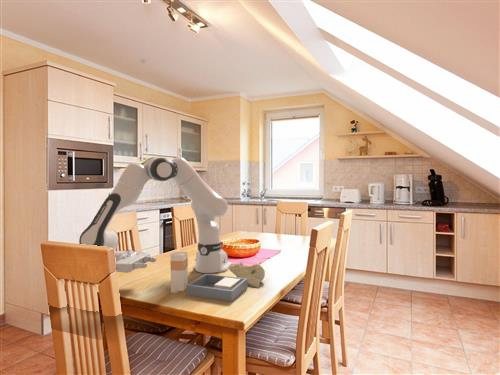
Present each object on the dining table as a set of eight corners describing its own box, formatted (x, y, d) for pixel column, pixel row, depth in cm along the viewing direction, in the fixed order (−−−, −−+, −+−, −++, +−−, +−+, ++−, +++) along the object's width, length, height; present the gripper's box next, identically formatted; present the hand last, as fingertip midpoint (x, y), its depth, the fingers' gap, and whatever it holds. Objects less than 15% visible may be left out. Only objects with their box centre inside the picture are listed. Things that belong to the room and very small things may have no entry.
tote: (206, 284, 141) (206, 273, 141) (247, 290, 134) (247, 278, 134) (186, 297, 126) (186, 285, 126) (231, 304, 119) (231, 291, 119)
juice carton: (175, 288, 137) (175, 251, 136) (187, 288, 136) (187, 251, 136) (170, 292, 131) (170, 254, 131) (183, 293, 131) (183, 255, 130)
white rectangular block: (225, 287, 134) (225, 277, 134) (240, 289, 132) (240, 279, 132) (214, 295, 125) (214, 284, 125) (230, 298, 122) (230, 286, 122)
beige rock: (271, 290, 139) (262, 262, 150) (268, 282, 134) (259, 254, 145) (238, 301, 139) (231, 272, 150) (234, 294, 134) (227, 264, 145)
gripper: (106, 260, 126) (139, 261, 124) (131, 249, 146) (160, 250, 145) (106, 275, 126) (139, 277, 124) (131, 262, 146) (160, 263, 145)
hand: (150, 262), depth 135 cm, fingers open, 8 cm apart
